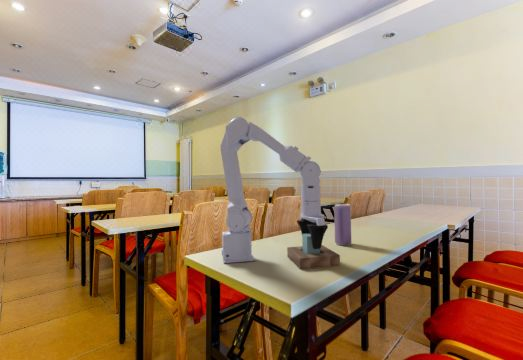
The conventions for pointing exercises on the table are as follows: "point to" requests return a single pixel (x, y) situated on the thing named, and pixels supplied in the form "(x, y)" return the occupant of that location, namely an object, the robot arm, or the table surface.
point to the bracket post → (308, 245)
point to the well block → (313, 258)
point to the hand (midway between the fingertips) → (311, 245)
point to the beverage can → (342, 224)
